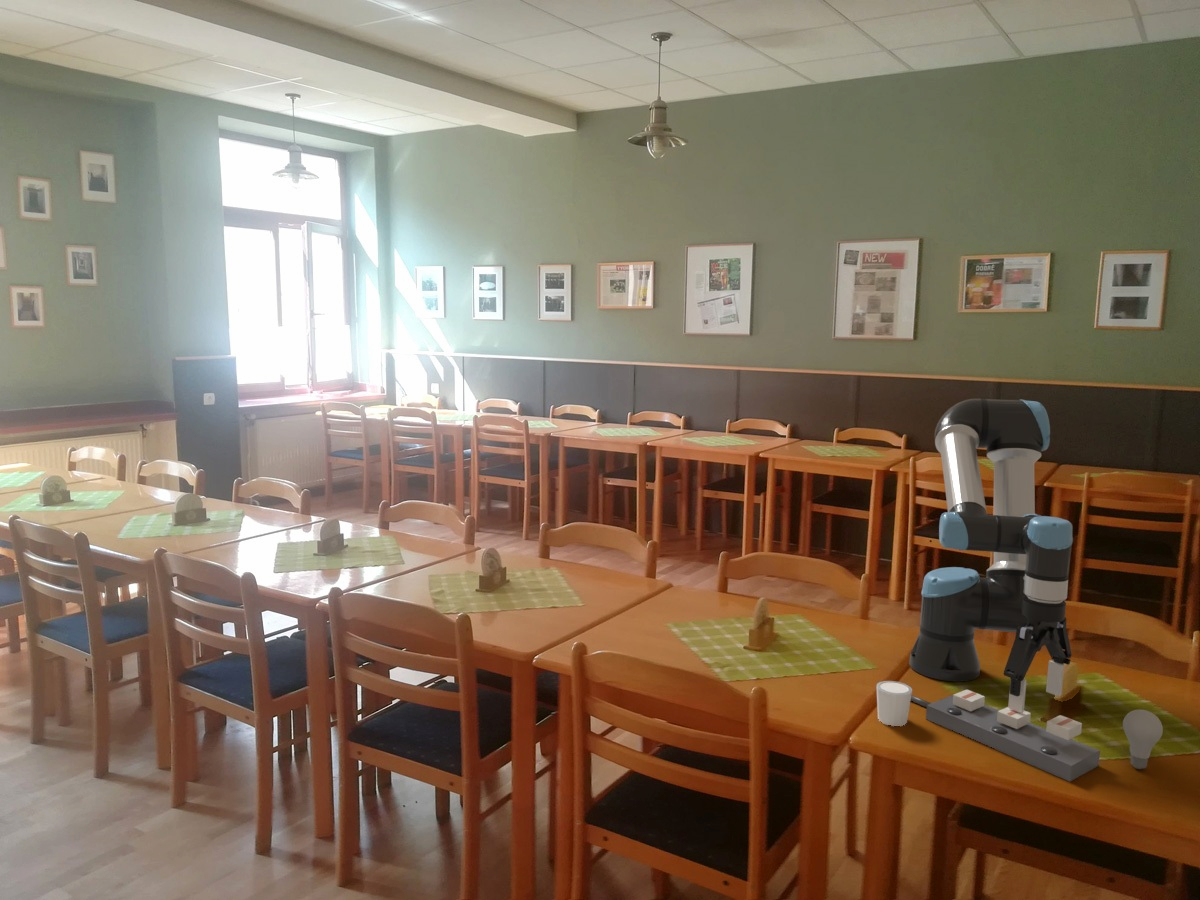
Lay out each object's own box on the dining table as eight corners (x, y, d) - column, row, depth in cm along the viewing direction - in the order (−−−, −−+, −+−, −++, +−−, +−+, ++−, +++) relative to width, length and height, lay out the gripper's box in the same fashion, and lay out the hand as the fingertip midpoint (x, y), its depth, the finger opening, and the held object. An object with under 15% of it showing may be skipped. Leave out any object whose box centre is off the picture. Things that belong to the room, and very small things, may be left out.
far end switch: (1059, 725, 164) (1060, 714, 163) (1081, 733, 161) (1082, 722, 160) (1046, 731, 161) (1047, 720, 161) (1067, 740, 158) (1069, 729, 158)
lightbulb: (1111, 760, 162) (1116, 703, 160) (1142, 759, 162) (1149, 703, 160) (1133, 777, 156) (1139, 719, 154) (1166, 776, 156) (1172, 718, 154)
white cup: (912, 729, 173) (914, 695, 172) (876, 726, 174) (878, 692, 173) (907, 714, 180) (909, 681, 179) (872, 711, 181) (874, 678, 180)
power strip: (914, 690, 191) (915, 676, 191) (1098, 765, 160) (1100, 748, 159) (885, 701, 185) (886, 686, 185) (1069, 781, 154) (1071, 764, 153)
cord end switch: (966, 698, 180) (966, 689, 179) (984, 705, 176) (984, 696, 176) (952, 704, 177) (953, 694, 177) (970, 711, 174) (971, 701, 173)
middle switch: (1010, 715, 172) (1011, 705, 171) (1030, 722, 169) (1030, 712, 168) (996, 721, 169) (997, 710, 169) (1016, 729, 166) (1017, 718, 166)
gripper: (1059, 582, 179) (1050, 680, 183) (989, 603, 165) (980, 710, 169) (1097, 591, 173) (1087, 693, 177) (1027, 614, 159) (1018, 725, 162)
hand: (1035, 702), depth 173 cm, fingers open, 13 cm apart
